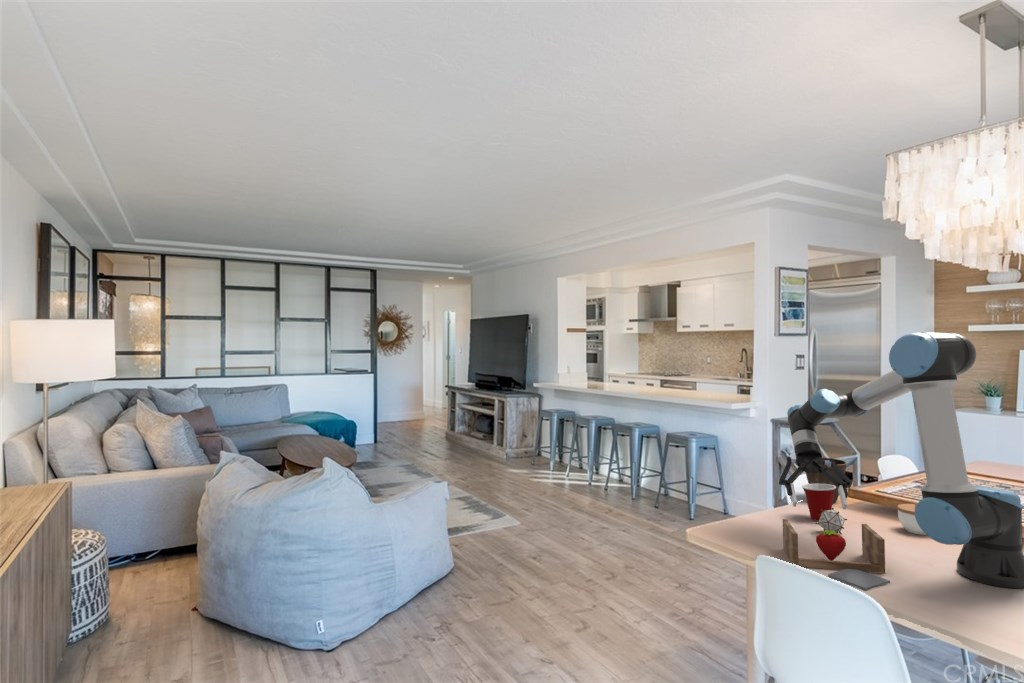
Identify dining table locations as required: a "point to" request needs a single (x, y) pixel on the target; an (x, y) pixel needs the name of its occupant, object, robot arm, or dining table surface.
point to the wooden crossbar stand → (870, 550)
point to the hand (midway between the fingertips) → (819, 505)
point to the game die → (831, 520)
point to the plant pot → (820, 479)
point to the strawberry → (830, 544)
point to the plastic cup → (819, 498)
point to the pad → (859, 578)
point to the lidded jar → (909, 518)
